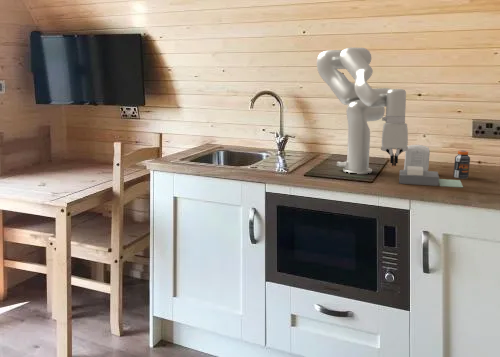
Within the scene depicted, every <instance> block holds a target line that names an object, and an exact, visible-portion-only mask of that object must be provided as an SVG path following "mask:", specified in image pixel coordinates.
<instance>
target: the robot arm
mask: <svg viewBox="0 0 500 357" xmlns="http://www.w3.org/2000/svg"><path fill="white" fill-rule="evenodd" d="M371 61H372V54H371V52H370V50H368V49H367V48H365V47H347V48H344V49H343V50H342V49H329V50H324V51H322V52H320V53H319V54H318V56H317V58H316V68H317V69H316V70H317V72H318V75H319V76H320V79H322V80H323V81H324V82H325V84H326V85H327V86H328V87H329V88H330V90H331V91H332V93H333V94H334V95H335V97H336V98H337V100H339V102H340V103H341V104H343V105H346V106H347V107H346V112H345V113H346V120H347V152H346V153H347V155H346V156H347V157H346V161H337V162H336V166H337V167H343V168H342V172H344V173H346V172H348V173H347V174H350V173H357V174H356V175H369V174H372V172H373V169H372V168H370V164H369V163H370V148H371V130H370V126H369V124H368V122H375V121H379V120H381V121H384V122H385V123H383V125H382V130H381V132H382V134H381V147H380V151H383V152H386V153H387V154H388V155H389V156H390V157H389V158H390V159H389V161H390V162H389V163H390V164H391V166H397V164H399V156H400V154H402V153H403V152H405V151H408V146H409V132H408V131H409V130H408V124H407V123H406V110H407V108H406V107H407V106H406V105H407V104H406V102H407V101H406V100H407V99H406V98H407V92H406V90H405V89H402V88H394V89H393V88H388V87H387V88H386V87H384V88H377V87H376V88H372V87H371V85H369V83H368V80H369V79H371V77H372V76H373V75H372V74H373V73H374V71H373V67H372V66H371V65H370V64H371V63H372V62H371ZM340 70H347V72H348V73H349V74H350V76H351V77H352V79H353V80H354V82H351V81H350V80H349V79H348V77H347V75H345V74H344V73H343V72H341V71H340ZM394 149H395V153H394V152H393V150H394ZM368 173H369V174H368Z"/></svg>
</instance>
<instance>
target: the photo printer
mask: <svg viewBox="0 0 500 357" xmlns="http://www.w3.org/2000/svg"><path fill="white" fill-rule="evenodd" d="M430 152H431V150H430V147H429V146H426V145H423V144H410V145H408V151H405V153H404V167H403V170H407V166H416V167H423V171H429V166H430V155H431V154H430Z"/></svg>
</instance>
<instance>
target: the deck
mask: <svg viewBox="0 0 500 357" xmlns="http://www.w3.org/2000/svg"><path fill="white" fill-rule="evenodd" d="M439 179H440V175H439V172H438V171H432V170H428V171H423V176H422V175H407V170H404V169H399V177H398V184H399V185H400V184H403V185H417V186H418V185H419V186H436V187H437V186H440V185H439Z"/></svg>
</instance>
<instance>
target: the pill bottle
mask: <svg viewBox="0 0 500 357" xmlns="http://www.w3.org/2000/svg"><path fill="white" fill-rule="evenodd" d="M453 164H454V166H453V177H454V178H457V179H468V178H469V172H470V165H471V157H470V156H469V151H468V150H461V149H460V150H458V151H457V155H455V157H454V163H453Z"/></svg>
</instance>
